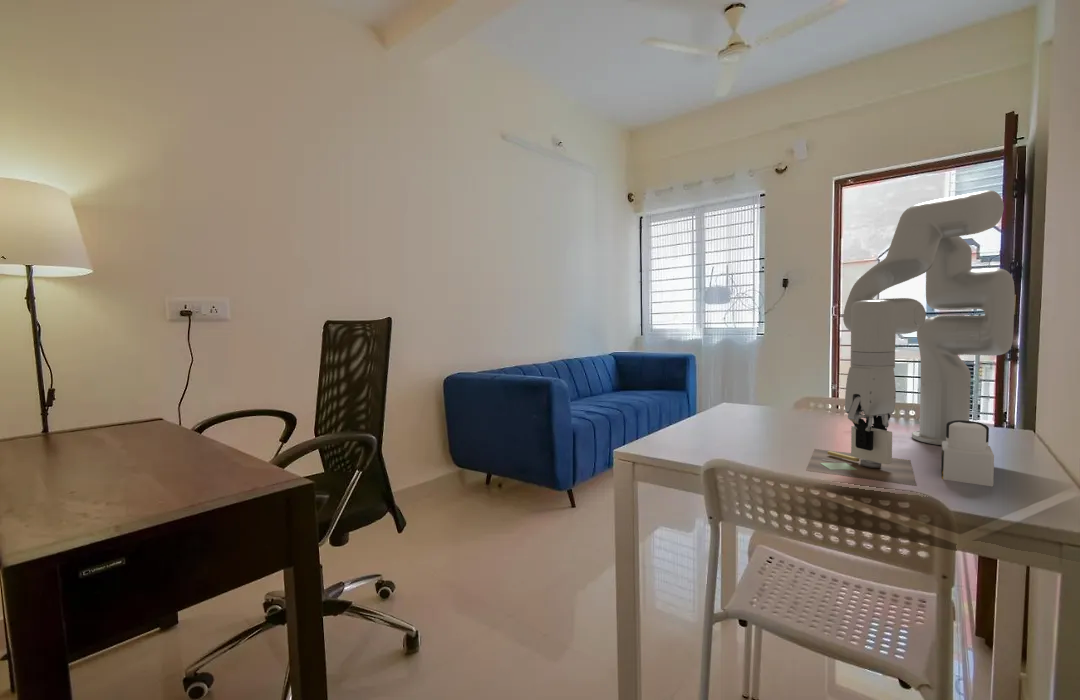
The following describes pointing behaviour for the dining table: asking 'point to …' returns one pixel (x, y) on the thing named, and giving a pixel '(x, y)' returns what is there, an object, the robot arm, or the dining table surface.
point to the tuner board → (862, 468)
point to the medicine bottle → (967, 453)
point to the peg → (875, 456)
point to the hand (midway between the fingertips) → (871, 446)
